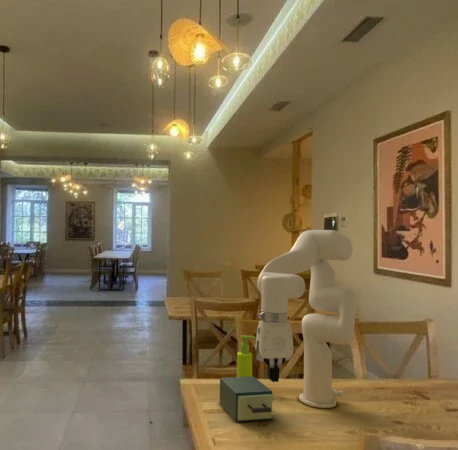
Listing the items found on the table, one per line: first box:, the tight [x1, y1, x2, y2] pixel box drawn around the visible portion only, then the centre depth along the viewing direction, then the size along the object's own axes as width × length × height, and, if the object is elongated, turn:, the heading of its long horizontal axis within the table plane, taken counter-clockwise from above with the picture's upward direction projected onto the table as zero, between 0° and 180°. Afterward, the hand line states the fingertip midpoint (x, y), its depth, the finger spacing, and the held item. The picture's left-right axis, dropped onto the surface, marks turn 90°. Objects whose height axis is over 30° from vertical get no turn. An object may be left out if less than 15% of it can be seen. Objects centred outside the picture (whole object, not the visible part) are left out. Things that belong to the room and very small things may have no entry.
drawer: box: [237, 394, 273, 420], centre depth 136 cm, size 18×11×7 cm, turn 12°
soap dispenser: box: [236, 335, 256, 377], centre depth 164 cm, size 6×7×20 cm
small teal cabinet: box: [219, 375, 273, 423], centre depth 140 cm, size 15×13×9 cm
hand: (273, 380), depth 121 cm, fingers closed
